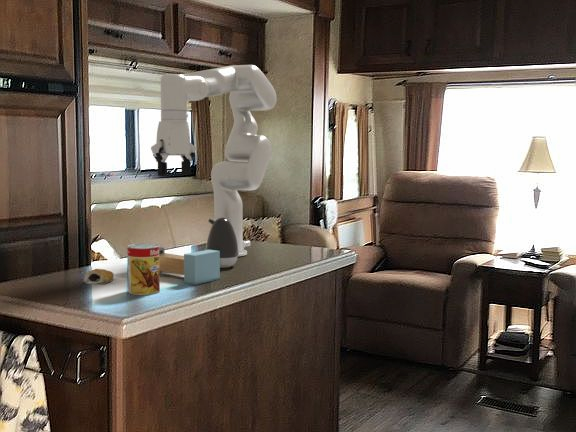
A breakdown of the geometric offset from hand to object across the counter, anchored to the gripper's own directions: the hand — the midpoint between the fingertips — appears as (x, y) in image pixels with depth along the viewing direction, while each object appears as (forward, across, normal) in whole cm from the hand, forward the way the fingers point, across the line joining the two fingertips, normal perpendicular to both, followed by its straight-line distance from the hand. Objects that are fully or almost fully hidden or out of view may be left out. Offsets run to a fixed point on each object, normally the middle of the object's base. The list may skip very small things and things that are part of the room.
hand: (174, 175), depth 207 cm
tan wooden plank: (+27, +8, +8) cm, 30 cm away
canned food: (+28, +27, +16) cm, 42 cm away
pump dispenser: (+28, -12, +8) cm, 32 cm away
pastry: (+29, +26, -4) cm, 39 cm away
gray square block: (+28, +8, -4) cm, 30 cm away
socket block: (+28, +8, +18) cm, 35 cm away
